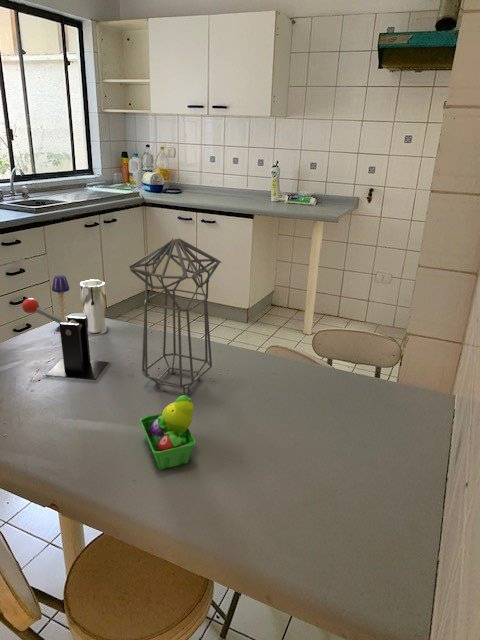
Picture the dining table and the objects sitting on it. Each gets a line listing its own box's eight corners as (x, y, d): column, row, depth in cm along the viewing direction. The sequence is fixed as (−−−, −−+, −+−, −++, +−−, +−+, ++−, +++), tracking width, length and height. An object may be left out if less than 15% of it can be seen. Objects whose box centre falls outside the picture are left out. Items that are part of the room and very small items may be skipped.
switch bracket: (45, 379, 109) (38, 326, 104) (63, 362, 117) (57, 311, 112) (95, 384, 108) (90, 330, 103) (109, 366, 116) (105, 315, 111)
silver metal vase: (78, 334, 133) (73, 284, 128) (94, 325, 139) (90, 278, 134) (98, 338, 131) (94, 288, 125) (113, 330, 137) (110, 281, 131)
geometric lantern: (192, 410, 100) (192, 251, 86) (130, 393, 105) (121, 241, 92) (221, 378, 113) (226, 236, 100) (165, 364, 118) (162, 228, 105)
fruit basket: (139, 439, 90) (137, 389, 85) (183, 430, 93) (183, 380, 89) (154, 477, 80) (153, 422, 76) (203, 465, 84) (203, 412, 79)
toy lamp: (62, 327, 138) (56, 273, 131) (76, 329, 137) (71, 274, 131) (53, 333, 133) (46, 277, 127) (67, 335, 132) (62, 279, 126)
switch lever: (16, 311, 106) (21, 298, 105) (25, 306, 109) (29, 293, 108) (73, 339, 107) (78, 327, 106) (80, 333, 111) (85, 321, 109)
